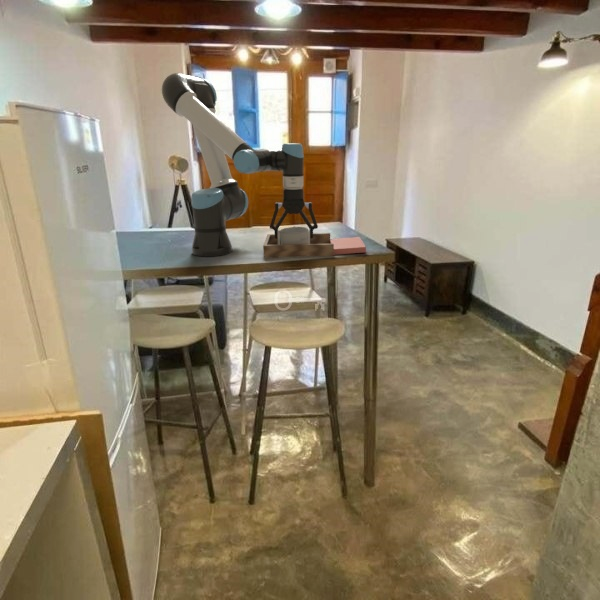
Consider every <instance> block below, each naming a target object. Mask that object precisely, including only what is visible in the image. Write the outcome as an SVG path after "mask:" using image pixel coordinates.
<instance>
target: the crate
mask: <svg viewBox="0 0 600 600" xmlns="http://www.w3.org/2000/svg"><path fill="white" fill-rule="evenodd" d="M330 239H331V233H330V232H320V233H318V232H316V233H315V232H313V238H310V244H285V245H281V240H280V245H278V239H275V233H267V234H266V237H265V239H264V240H265V241H264V242H263V245H262V247H263V259H267V257H268V259H270V257H272V259H273V258H280V257H281V258H285V257H287V258H288V257H289V258H290V257H291V258H292V257H293V258H294V257H334V244H330Z"/></svg>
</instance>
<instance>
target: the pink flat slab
mask: <svg viewBox="0 0 600 600" xmlns="http://www.w3.org/2000/svg"><path fill="white" fill-rule="evenodd" d="M330 244H334V255H345V254H356V253H357V254H360V253H362V254H363V253H366V252H367V247H366V245H365V243H364V241H363V240H362V238H361V237H360V236H354V237H343V238H342V237H340V238H330Z"/></svg>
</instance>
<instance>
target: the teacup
mask: <svg viewBox="0 0 600 600" xmlns="http://www.w3.org/2000/svg"><path fill="white" fill-rule="evenodd" d="M308 229H309V227H308V228H307V227H305V226H290V227H289V226H288V227H285V228H282V229H280V231H279V232H280V240H281V245H285V244H308Z"/></svg>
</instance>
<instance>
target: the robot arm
mask: <svg viewBox="0 0 600 600" xmlns="http://www.w3.org/2000/svg"><path fill="white" fill-rule="evenodd" d="M161 94H162V98H163V100H164V102H165V104H166V105H167V106H168V108H170V109H171V110H172V111H173V112H174V113H175V114H176V115H178V116H179V117H184V118H185V119H186V120H187V121H188V122H190V123H191V124H192V127H193V131H194V134H195V138H196V140H197V143H198V146H199V149H200V152H201V157H202V158H203V162H204V164H205V168H206V171H207V174H208V178H209V180H210V183H211V184H210V186H209V187H207V188H203V189H202V188H201V189H198V190H196V191H194V192H193V193H192V195H191V202H190V203H191V205H190V206H191V208H192V209H191V210H192V211H191V212H192V219H193V227H194V235H193V236H194V237H193V242H192V246H191V250H192V251H191V253H192V254H193V255H194V256H197V257H218V256H223V255H224V256H225V255H228V254H230V253H232V252H233V245H232V242H231V240H230V237H229V235H228V232H227V228H226V222H227V221H230V220H235V219H238V218H240V217H242V216H243V215H244V214H245V213H246V212H247V209H248V208H249V197H248V195H247V193H246V192H245V191H244V190H243V189H242V188H240V186H239V183H238V180H236V179H234V178H233V176H232V174H231V171H230V166H229V163H228V159H227V157H226V155H227V156H228V157H229V158H230V159H231V160H232V161H233V166H234V167H235V169H236V171H237V172H238V173H241V174H250V175H251V174H254V173H261V172H282V187H283V190H282V193H283V195H282V197H283V198H282V202H277V201H276V202H275V203H274V213H273V214H272V219H271V222H270V225H269V230H274V234H275V239H278V245H280V232H279V231H280V230H281V229H279V228H280V226H281V225H282V223H283V221H284V220H285V218H286V217H287V215H288V214H289V215H292V214H294V215H300V216H301V219H302V220H303V221H304V222H305V224H306V225H307V227H308V244H310V238H313V233H314V230H316V229H318V228H319V227H318V226H319V225H318V222H317V220H316V217H315V214H314V211H313V202H311V201H310V202H305V201H304V200H305V199H304V196H305V195H304V189H303V188H304V186H305V185H304V158H305V156H304V147H303V145H302V143H282V146H281V149H276V148H275V149H273V148H272V149H271V148H268V149H267V148H259V149H255V148H253V147H252V146H251V145H249V144H248V143H247V142H246V140H244V139H243V138H242V137H240V136H239V135H238V134H237V133H236V132H235V131H234V130H233V129H232V128H231V127H230V126H228V125H227V124H226V123H225V122H224V121H222V119H220V118H219V117H218V115H216V114H215V113H216V108H215V106H216V105H217V103H216V102H217V100H218V98H217V92H216V90H215V87H214V86H213V84H212V83H211V82H210V81H209V80H207V79H205V78H203V77H201V76H196V75H195V76H193V75H189V74H184V73H179V72H175V73H172V74H169V75H168V76H166V77H165V79H164V81H163V82H162V85H161ZM281 207H283V209H284V211H283V213H282V215H281V216H280V218H279V219H278V221H277V223H276V222H275V221H276V218H277V215H278V212H279V210H280V209H281ZM304 207H306V209H308V211H309V214H310V217H311V221H312V223H313V224H312V223H311V222H310V221H309V219H308V218H307V216H306V214H305V212H304V211H303V210H304ZM275 223H276V224H275Z"/></svg>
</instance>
